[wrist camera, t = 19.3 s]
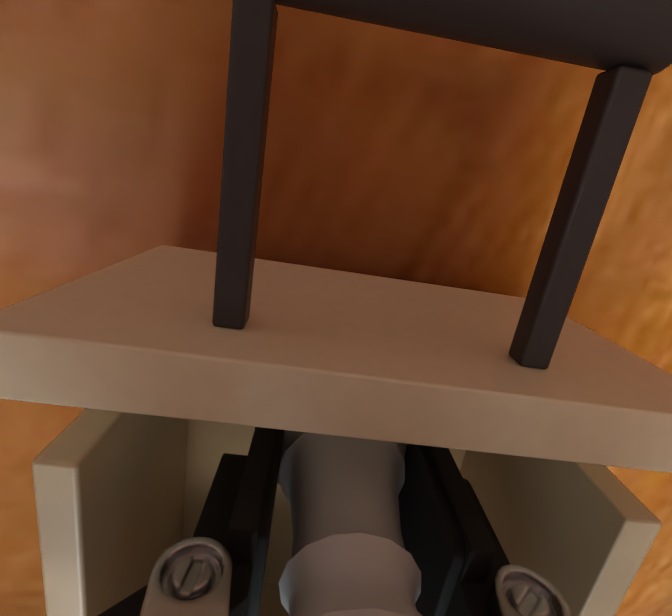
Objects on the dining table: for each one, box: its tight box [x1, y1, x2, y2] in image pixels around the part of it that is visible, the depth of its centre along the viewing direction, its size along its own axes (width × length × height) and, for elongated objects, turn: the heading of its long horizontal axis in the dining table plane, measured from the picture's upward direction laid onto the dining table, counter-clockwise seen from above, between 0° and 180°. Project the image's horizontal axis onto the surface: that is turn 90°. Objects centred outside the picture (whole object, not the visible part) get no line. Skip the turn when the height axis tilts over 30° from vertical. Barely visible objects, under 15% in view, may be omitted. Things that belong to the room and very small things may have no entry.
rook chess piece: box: [278, 430, 422, 616], centre depth 9 cm, size 4×4×8 cm
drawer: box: [0, 0, 672, 616], centre depth 11 cm, size 21×13×8 cm, turn 171°
